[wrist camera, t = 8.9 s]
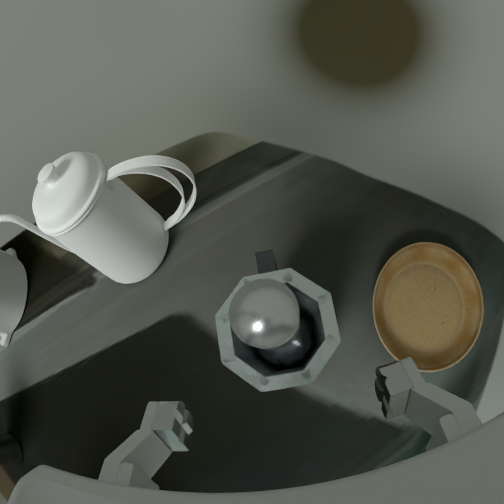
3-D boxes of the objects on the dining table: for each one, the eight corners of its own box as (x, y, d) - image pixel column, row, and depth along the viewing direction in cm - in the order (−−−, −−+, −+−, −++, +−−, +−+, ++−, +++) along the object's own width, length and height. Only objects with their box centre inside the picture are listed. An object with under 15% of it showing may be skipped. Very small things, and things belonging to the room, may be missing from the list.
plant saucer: (379, 236, 34) (384, 227, 31) (477, 264, 30) (487, 258, 28) (352, 358, 30) (357, 358, 27) (461, 379, 26) (472, 379, 23)
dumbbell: (261, 369, 28) (214, 379, 12) (253, 317, 30) (200, 268, 14) (315, 359, 28) (334, 359, 12) (305, 307, 30) (309, 245, 14)
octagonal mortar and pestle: (250, 387, 30) (222, 402, 19) (235, 291, 34) (203, 256, 23) (334, 372, 29) (353, 379, 18) (314, 275, 33) (320, 231, 22)
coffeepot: (69, 238, 41) (-14, 180, 24) (212, 187, 40) (158, 80, 22) (68, 303, 37) (-33, 261, 20) (226, 260, 36) (159, 167, 18)
